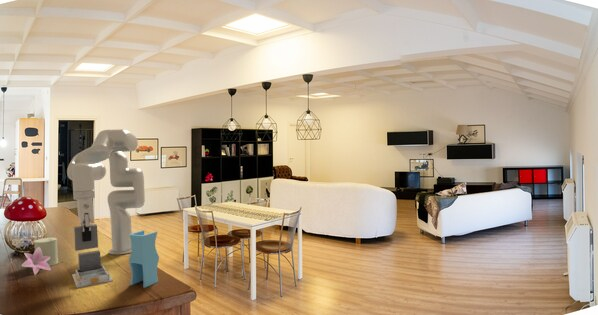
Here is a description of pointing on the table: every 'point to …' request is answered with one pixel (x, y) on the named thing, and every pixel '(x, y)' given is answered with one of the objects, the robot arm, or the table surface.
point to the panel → (88, 244)
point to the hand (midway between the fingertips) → (86, 239)
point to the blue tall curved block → (143, 258)
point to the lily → (36, 261)
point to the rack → (90, 270)
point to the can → (48, 249)
